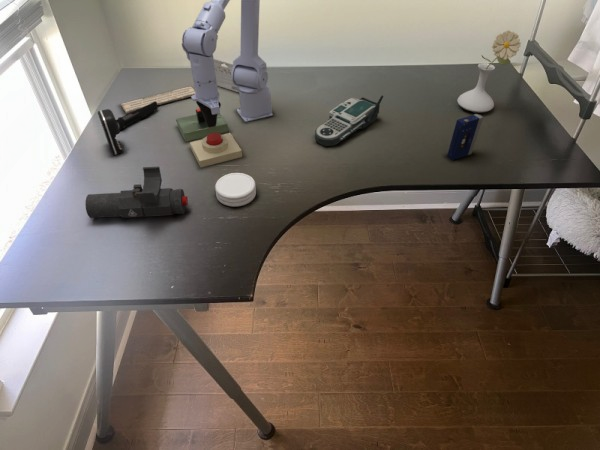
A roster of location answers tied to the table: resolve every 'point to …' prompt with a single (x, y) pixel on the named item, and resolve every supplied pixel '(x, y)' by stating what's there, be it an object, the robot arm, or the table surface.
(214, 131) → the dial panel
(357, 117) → the communication device
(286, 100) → the table surface
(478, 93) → the flower in vase
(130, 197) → the laser sight
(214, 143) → the power button
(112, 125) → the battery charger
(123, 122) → the electric trimmer
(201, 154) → the box
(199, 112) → the black rectangular block
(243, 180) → the coaster
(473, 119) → the cassette player
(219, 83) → the ink cartridge box
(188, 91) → the newspaper
